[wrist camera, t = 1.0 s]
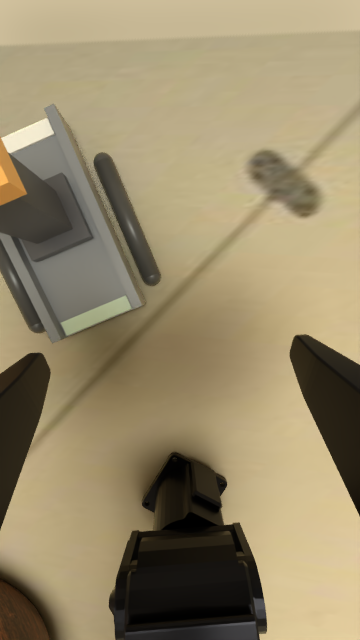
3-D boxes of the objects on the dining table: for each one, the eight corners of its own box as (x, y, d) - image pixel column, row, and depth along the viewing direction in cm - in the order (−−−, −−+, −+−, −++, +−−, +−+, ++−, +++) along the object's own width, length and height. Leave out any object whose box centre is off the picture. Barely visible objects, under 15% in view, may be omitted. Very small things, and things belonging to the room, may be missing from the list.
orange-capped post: (93, 237, 21) (22, 195, 11) (37, 262, 21) (-83, 241, 11) (66, 176, 20) (-35, 74, 10) (8, 202, 20) (-146, 124, 11)
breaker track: (168, 293, 24) (168, 294, 21) (44, 345, 24) (26, 353, 21) (95, 117, 22) (82, 90, 19) (-40, 176, 22) (-73, 160, 19)
